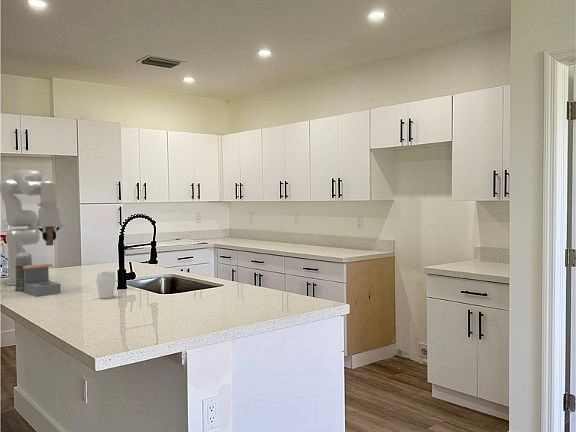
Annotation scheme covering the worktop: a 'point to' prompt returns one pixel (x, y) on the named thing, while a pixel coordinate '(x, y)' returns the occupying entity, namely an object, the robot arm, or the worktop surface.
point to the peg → (49, 236)
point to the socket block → (39, 281)
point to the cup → (106, 284)
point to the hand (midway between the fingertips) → (49, 239)
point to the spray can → (21, 269)
